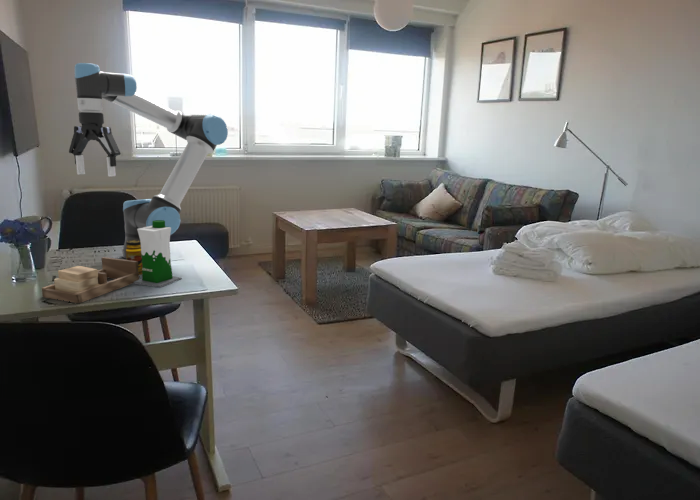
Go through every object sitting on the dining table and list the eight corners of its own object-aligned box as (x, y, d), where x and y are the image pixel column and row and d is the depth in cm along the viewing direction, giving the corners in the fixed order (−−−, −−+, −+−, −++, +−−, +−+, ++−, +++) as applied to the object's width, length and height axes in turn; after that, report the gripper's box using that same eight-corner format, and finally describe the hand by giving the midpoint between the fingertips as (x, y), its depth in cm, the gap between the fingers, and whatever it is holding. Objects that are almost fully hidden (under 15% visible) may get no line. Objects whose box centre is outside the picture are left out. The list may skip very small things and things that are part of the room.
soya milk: (176, 278, 177) (173, 221, 173) (156, 284, 169) (152, 225, 165) (158, 274, 181) (154, 218, 177) (137, 280, 173) (133, 222, 169)
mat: (155, 275, 182) (155, 273, 182) (181, 278, 179) (181, 277, 178) (133, 283, 172) (133, 281, 172) (160, 287, 168) (160, 285, 168)
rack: (105, 276, 180) (104, 257, 178) (139, 281, 175) (137, 261, 173) (42, 297, 156) (40, 275, 155) (79, 303, 152) (76, 280, 150)
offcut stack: (77, 288, 166) (75, 265, 164) (101, 292, 163) (99, 268, 161) (55, 295, 158) (52, 271, 157) (79, 300, 155) (76, 275, 153)
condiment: (134, 277, 179) (132, 244, 177) (118, 273, 183) (116, 241, 181) (151, 272, 185) (149, 240, 183) (136, 269, 190) (133, 237, 187)
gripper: (53, 111, 173) (59, 174, 178) (111, 111, 165) (116, 177, 170) (71, 112, 180) (77, 172, 185) (128, 112, 172) (133, 176, 177)
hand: (96, 175), depth 177 cm, fingers open, 13 cm apart
